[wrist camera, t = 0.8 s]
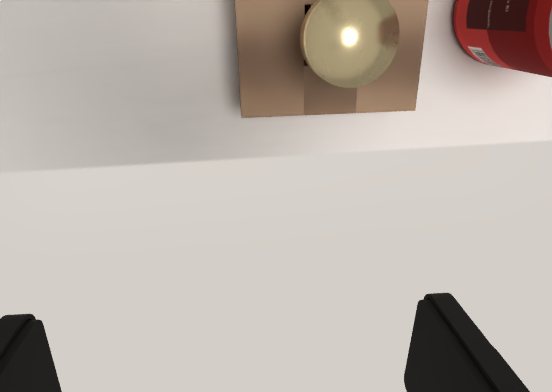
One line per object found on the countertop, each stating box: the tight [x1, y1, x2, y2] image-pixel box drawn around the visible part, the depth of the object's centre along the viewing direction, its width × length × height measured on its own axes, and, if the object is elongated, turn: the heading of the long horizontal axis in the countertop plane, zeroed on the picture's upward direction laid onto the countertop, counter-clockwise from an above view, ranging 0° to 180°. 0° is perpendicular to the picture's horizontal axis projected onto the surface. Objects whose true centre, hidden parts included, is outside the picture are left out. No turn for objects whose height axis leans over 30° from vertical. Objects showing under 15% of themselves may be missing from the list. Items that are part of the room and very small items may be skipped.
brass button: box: [300, 0, 400, 88], centre depth 24 cm, size 5×5×6 cm
